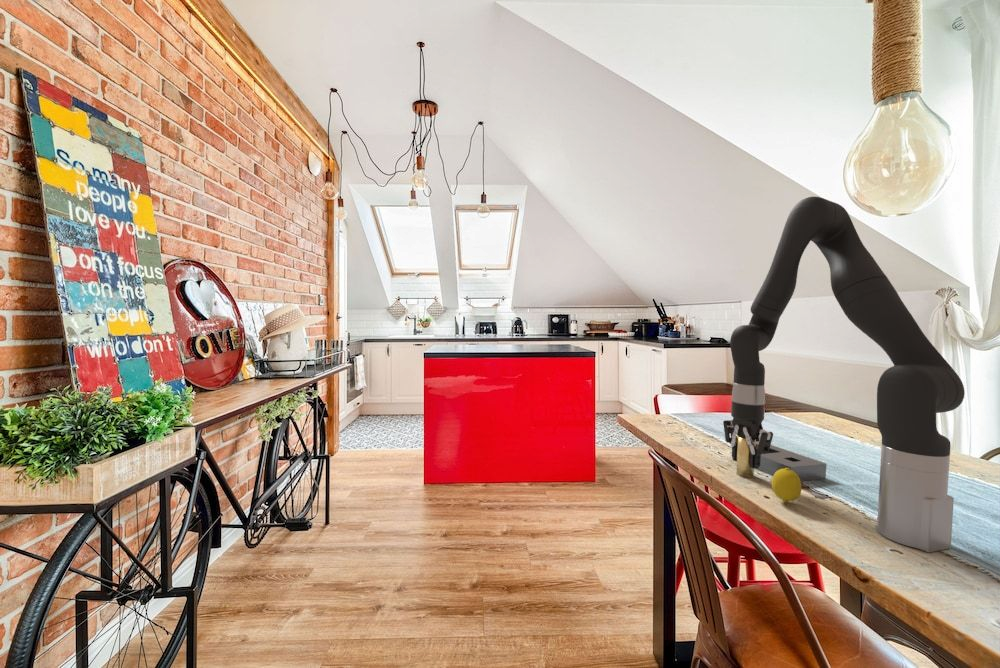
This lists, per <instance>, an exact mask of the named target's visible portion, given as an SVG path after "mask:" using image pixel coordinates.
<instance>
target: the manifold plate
mask: <svg viewBox="0 0 1000 668" xmlns="http://www.w3.org/2000/svg"><path fill="white" fill-rule="evenodd" d="M755 449H756V446H755ZM784 468H789V469H790V470H792V471H794V472H795V473H796V474H797V475H798V476H799V478H800V481H801V482H807V481H815V480H826V478H827V477H826V476H827V463H826V462H823V461H820V460H816V459H814V458H811V457H809V456H805V455H803V454H799V453H796V452H793V451H791V450H787V449H784V448H782V447H778V446H775V445H773V444H771V445H770V449H769V453H768V454H761V461H760V467H759V468H756V470H758V471H760V472H763V473H766V474H768V475H771V476H772V477H773V476H774V474H775V472H776V471H778V470H780V469H784Z"/></svg>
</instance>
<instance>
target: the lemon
mask: <svg viewBox="0 0 1000 668" xmlns="http://www.w3.org/2000/svg"><path fill="white" fill-rule="evenodd" d="M771 487H772V491H773V494H774V495H775V496H776V497H777V498H778V499H780V500H781V501H782V502H783V503H785V504H788V503H790V502H793V501H796V500H797V499H798V498H799V497H800V496H801V493H802V481H800V478H799V476H798V475H797V474H796V473H795V472H794V471H792V470H790V469H789V468H784V469H780V470H778V471H776V472H775V474H774V476H773V475H772V480H771Z"/></svg>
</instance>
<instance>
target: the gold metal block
mask: <svg viewBox="0 0 1000 668" xmlns="http://www.w3.org/2000/svg"><path fill="white" fill-rule="evenodd" d="M752 441H753V442H755V441H756V440H752ZM751 454H752V453H751V450H750V446H749V445H748V444H747V440H746V439H745V438H742V437H739V436H738V444H737V461H736V470H735V471H736V472H735V473H736V475H737V476H738V477H741V478H748V479H751V478H754V476H755V469H753V468H751V467H750V457H751Z"/></svg>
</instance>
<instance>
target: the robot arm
mask: <svg viewBox="0 0 1000 668" xmlns="http://www.w3.org/2000/svg"><path fill="white" fill-rule="evenodd" d="M810 242H812V243H814V244H815V246H816V247H817V248H818V250H820V252H821V253H822V255H823V256H824V258H825V260H826V261H827V263H828V267H829V272H830V287H831V291H832V293H833V296H834V297H835V299H836V302H837V303H838V305H839V307H840V308H841V310H842V311H843V313H844V315H845V316H846V318H847V319H848V320H849V321H850V322H851V323H852V324H853V325H854V326H855V327H856V328H857V329H859V330H860V331H861V332H862V333H863V334H865V335H866V336H867V337H869V338H870V339H871V340H872V341H874V343H876V344H877V345H878V346H879V347H880V348H881V349H882V350H883V351H884V352H885V353H886V355H887V356H888V358H889V359H890V361H891V363H892V364H893V366H890V367H888V368H887V369H885V370H884V371H883V373H882V374H881V376H880V377H879V380H878V383H877V388H876V422H877V423H876V424H877V428H878V431H879V433H880V435H881V449H880V451H881V452H880V465H879V467H880V468H879V482H878V483H879V484H878V487H879V488H878V502H877V504H878V505H877V518H876V519H877V520H876V521H877V525H876V529H877V530H876V531H878V533H879V534H880V535H882V536H883V537H885V538H887V539H889V540H891V541H893V542H895V543H898V544H900V545H903V546H906V547H910V548H914V549H918V550H921V551H924V552H927V553H934V552H938V551H943V550H947V549H951V548H952V533H953V532H952V531H953V517H954V504H955V503H954V501H955V499H954V497H953V496H951V495H949V494H948V493H949V489H948V488H949V477H950V476H949V474H950V461H951V460H950V459H951V442H950V439H949V438H948V437H946V436H944V435H943V434H940V433H939V431H938V429H937V414H942V413H947V412H948V413H949V412H952V411H954V410H955V409H957V408H958V407H959V406H961V404H962V403H963V401H964V398H965V386H964V383H963V381H962V379H961V378H960V376H959V374H958V373H957V372H956V370H955V369H954V368H953V367H952V366H951V365H950V364H949V363H948V361H947V360H946V359H945V358H944V357H943V356H942V353H940V351H938V349H936V347H935V346H934V344H932V342H931V341H930V340H929V339H928V337H927V335H926V334H925V333H924V331H922V329H921V327H920V325H919V324H918V323H917V321H916V319H915V318H914V317H913V315H912V313H911V312H910V311H909V309H908V307H907V306H906V305H905V303H904V302H903V300H902V299H901V296H900V295H899V294H898V291H897V290H896V288H895V287H894V285H893V284H892V282H891V281H890V280H889V278H888V277H887V275H886V273H884V271H883V270H882V268H881V267H880V266H879V264H878V263H877V261H876V260H875V258H874V257H873V256H872V254H871V253H870V252H869V251H868V249H867V248H866V246H865V245H864V244H863V242H862V240H861V237H860V235H859V234H858V231H857V229H856V228H855V225H854V222H853V220H852V219H851V217H850V214H849V212H848V211H847V209H845V208H844V206H843V205H841V204H839V203H836V202H835V201H831V200H829V199H826V198H824V197H820V196H808V197H806V198H804V199H801V200H800V201H798V202H797V203H796V204H795V205H794V206H793V207H792V209H791V210H790V212H789V214H788V217H787V218H786V221H785V223H784V228H783V230H782V232H781V236H780V239H779V242H778V245H777V247H776V250H775V253H774V256H773V258H772V262H771V264H770V267H769V270H768V272H767V274H766V276H765V279H764V280H763V283H762V285H761V287H760V289H759V290H758V293H757V294H756V296H755V298H754V300H753V301H752V304H751V306H750V313H751V314H752V315H751V318H750V321H749V323H748V324H744V325H739V326H738V327H736V328H735V329H734V330H733V331H732V333H731V336H730V341H729V344H730V352H731V357H732V358H731V359H732V362H733V368H734V369H733V384H732V391H731V408H730V409H731V411H730V413H731V414H730V415H731V417H732V418H733V419H727V420H726V419H725V420H723V422H722V423H723V431H724V438H725V442H726V443H727V444H728V443H729V444H730V446H731V458H732V461H733V462H737V444H738V436H739V437H742V438H745V439H746V440H747V444H748V445H749V446H750V450H751V453H752V454H751V457H750V467H751V468H753V469H754V470H755V469H756V468H759V467H760V461H761V454H768V453H769V449H770V445H772V443H773V442H772V441H773V437H774V433H773V432H772V431H767V430H765V429H764V427H763V425H762V423H763V421H764V420H765V408H766V407H765V404H766V390H765V379H766V378H765V377H766V376H765V375H766V368H765V365H764V363H762V362H760V352H762V351H763V350H765V349H766V348H767V347H769V345H770V344H771V342H772V340H773V339H774V336H775V334H776V331H777V328H778V325H779V321H780V318H781V317H782V315H783V314H784V311H785V309H786V308H787V306H788V305H789V303H790V301H791V299H792V297H793V295H794V293H795V290H796V286H797V282H798V281H797V279H798V271H799V266H800V263H801V259H802V256H803V254H804V252H805V250H806V248H807V247H808V245H810ZM752 440H755V442H753V441H752ZM755 446H756V449H755ZM756 470H757V469H756Z"/></svg>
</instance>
